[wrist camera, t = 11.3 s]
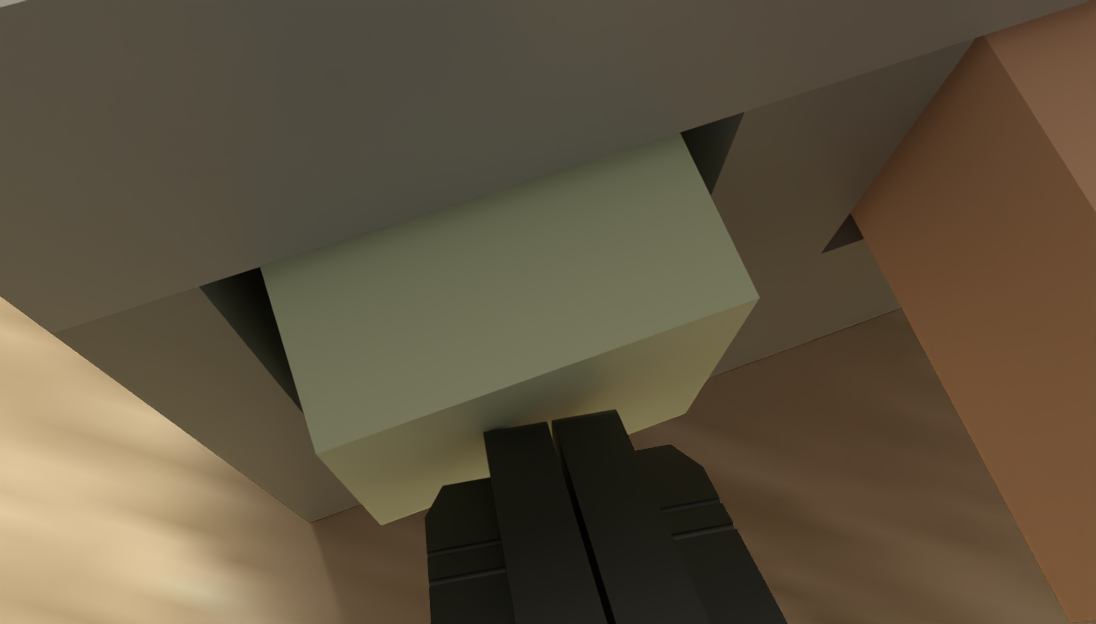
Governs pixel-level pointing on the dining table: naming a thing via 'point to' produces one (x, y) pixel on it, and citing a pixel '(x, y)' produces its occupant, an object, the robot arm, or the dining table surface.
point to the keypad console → (421, 161)
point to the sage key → (509, 320)
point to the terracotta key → (1009, 272)
